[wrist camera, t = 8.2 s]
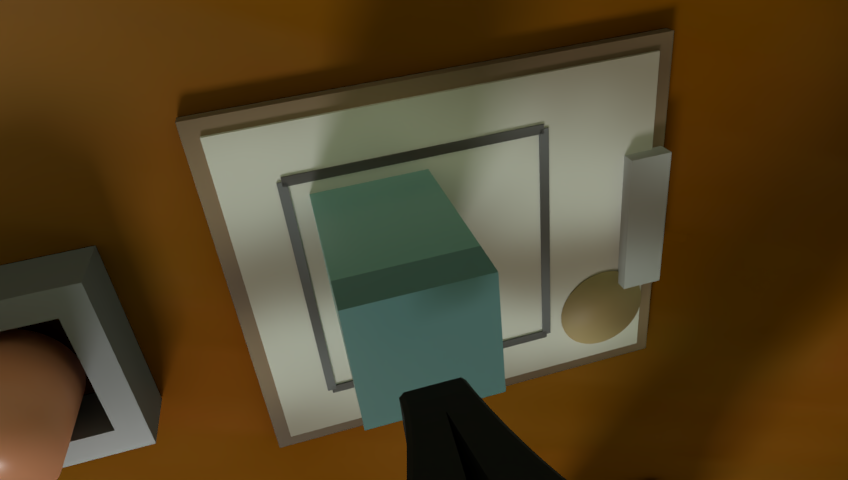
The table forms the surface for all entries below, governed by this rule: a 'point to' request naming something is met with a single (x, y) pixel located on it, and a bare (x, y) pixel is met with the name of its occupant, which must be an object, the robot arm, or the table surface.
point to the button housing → (88, 347)
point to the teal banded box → (409, 291)
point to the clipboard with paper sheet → (467, 191)
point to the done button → (36, 404)
